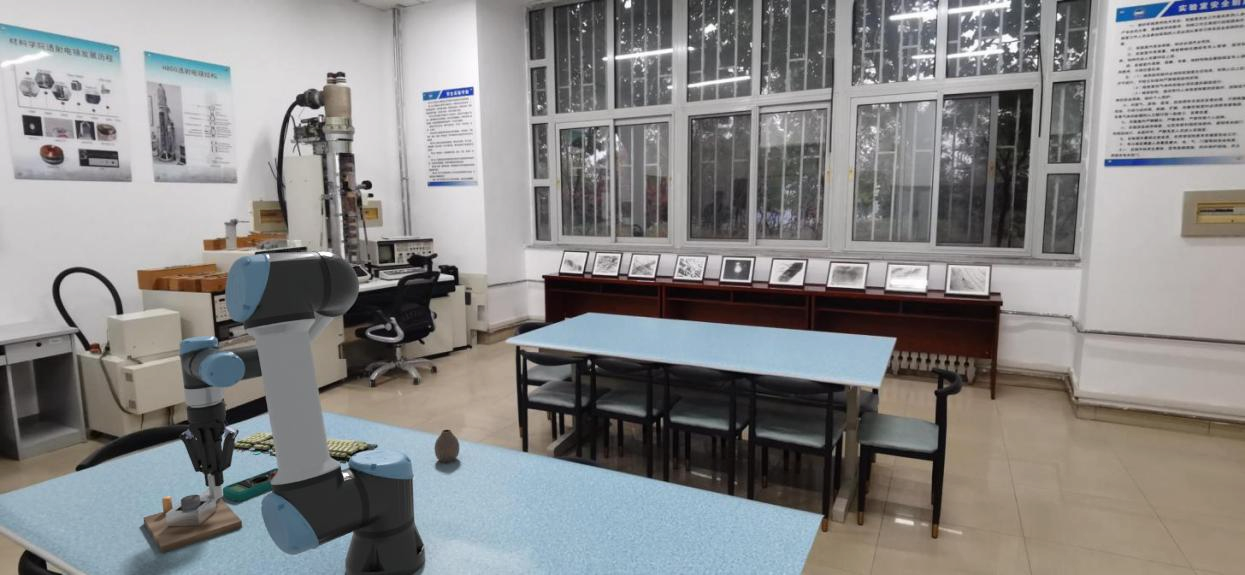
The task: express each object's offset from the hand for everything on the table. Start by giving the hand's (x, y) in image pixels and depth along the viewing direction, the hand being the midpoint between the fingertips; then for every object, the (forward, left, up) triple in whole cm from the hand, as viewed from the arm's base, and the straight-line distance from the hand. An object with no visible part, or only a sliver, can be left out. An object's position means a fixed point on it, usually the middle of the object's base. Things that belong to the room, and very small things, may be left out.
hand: (216, 498), depth 149 cm
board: (-4, +6, -3) cm, 8 cm away
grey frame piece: (-2, +4, -1) cm, 4 cm away
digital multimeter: (+7, -11, -4) cm, 13 cm away
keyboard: (+28, -28, -4) cm, 39 cm away
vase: (-13, -54, -3) cm, 56 cm away
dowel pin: (+4, +9, -2) cm, 10 cm away
